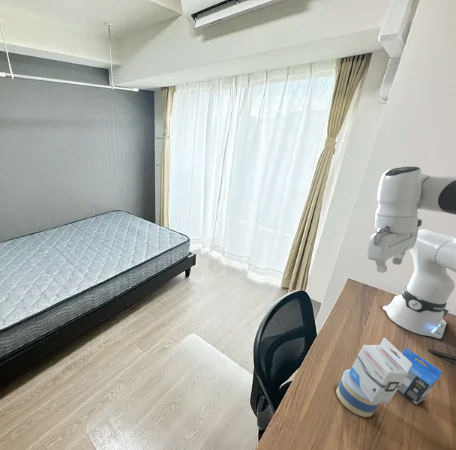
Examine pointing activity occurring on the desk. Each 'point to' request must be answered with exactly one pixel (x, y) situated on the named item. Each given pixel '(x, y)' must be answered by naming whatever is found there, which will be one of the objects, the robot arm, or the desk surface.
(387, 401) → the ink box
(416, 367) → the label tape box
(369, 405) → the yogurt tub
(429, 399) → the desk surface
